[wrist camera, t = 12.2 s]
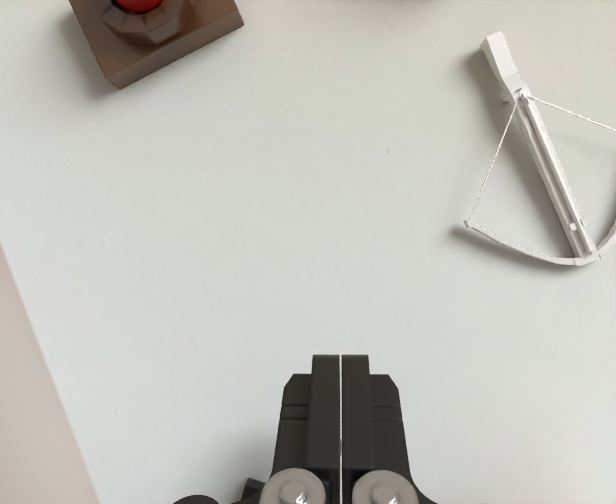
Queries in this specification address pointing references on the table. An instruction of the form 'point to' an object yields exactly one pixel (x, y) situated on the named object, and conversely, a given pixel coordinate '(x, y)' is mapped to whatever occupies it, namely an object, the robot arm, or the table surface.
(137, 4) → the button
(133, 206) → the table surface
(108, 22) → the button block
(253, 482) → the bracket
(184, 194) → the table surface
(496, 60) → the crossbow
